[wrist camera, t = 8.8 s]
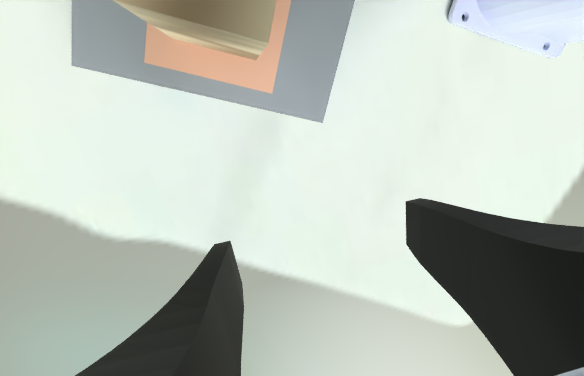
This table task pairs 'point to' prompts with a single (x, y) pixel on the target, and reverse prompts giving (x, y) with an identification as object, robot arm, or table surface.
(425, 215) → the robot arm
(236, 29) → the peg
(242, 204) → the table surface
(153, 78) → the pocket board
